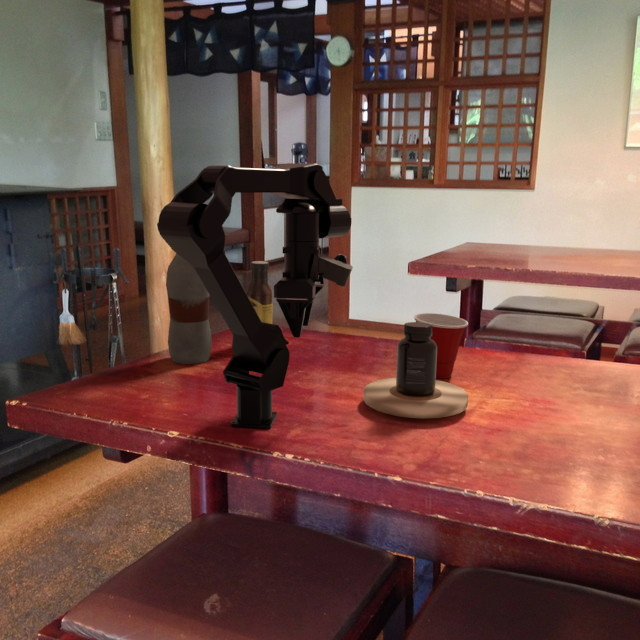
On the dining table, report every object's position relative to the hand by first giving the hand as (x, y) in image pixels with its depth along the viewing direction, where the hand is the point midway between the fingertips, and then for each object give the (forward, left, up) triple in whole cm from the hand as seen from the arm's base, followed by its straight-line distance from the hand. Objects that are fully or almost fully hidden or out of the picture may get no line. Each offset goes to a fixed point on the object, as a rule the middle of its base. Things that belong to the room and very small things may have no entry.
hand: (301, 331), depth 115 cm
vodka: (+25, +28, -13) cm, 40 cm away
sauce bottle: (+40, +16, -13) cm, 45 cm away
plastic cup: (+22, -25, -13) cm, 36 cm away
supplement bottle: (+2, -20, -11) cm, 23 cm away
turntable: (+2, -20, -13) cm, 24 cm away
